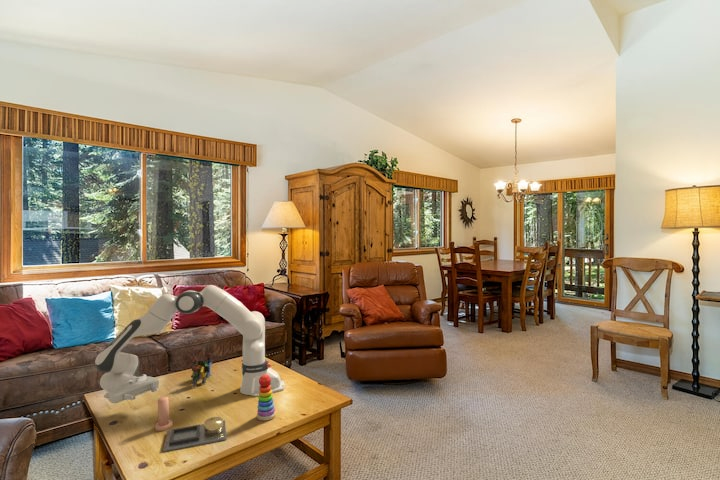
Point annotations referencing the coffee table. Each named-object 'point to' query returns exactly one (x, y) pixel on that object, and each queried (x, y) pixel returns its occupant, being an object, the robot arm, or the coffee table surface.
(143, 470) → the coffee table surface
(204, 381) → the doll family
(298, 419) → the coffee table surface
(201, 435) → the carrier plate
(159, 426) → the pink peg on base
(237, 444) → the coffee table surface
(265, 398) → the stacking toy
